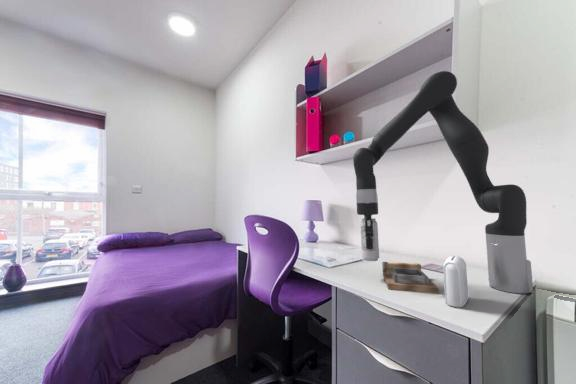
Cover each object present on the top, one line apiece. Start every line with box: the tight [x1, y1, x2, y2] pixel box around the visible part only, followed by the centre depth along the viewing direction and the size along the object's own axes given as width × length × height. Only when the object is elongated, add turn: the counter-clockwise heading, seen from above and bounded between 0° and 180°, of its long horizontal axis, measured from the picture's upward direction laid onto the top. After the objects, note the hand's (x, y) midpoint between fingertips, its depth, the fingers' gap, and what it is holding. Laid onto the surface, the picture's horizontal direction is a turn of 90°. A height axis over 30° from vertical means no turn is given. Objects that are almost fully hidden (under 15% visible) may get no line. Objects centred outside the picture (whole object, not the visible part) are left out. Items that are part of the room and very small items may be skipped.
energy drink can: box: [359, 217, 380, 262], centre depth 83 cm, size 6×6×15 cm
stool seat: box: [382, 267, 440, 295], centre depth 76 cm, size 14×13×4 cm
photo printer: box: [443, 255, 469, 309], centre depth 63 cm, size 10×4×12 cm, turn 134°
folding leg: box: [381, 261, 422, 274], centre depth 84 cm, size 13×2×5 cm, turn 78°
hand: (369, 247), depth 83 cm, fingers closed on energy drink can, 6 cm apart
